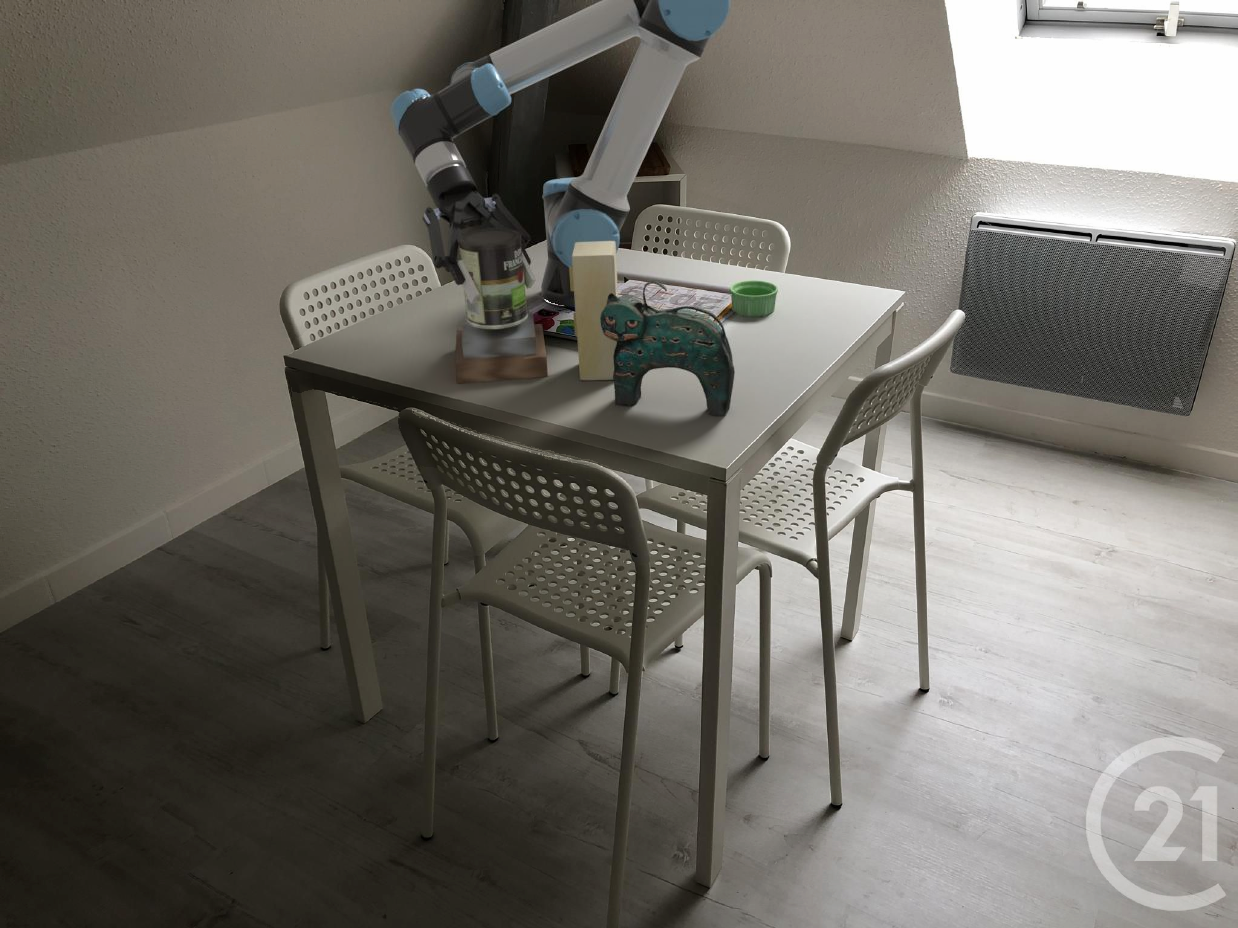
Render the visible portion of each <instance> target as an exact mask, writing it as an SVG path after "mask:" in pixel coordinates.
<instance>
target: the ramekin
mask: <svg viewBox="0 0 1238 928" xmlns="http://www.w3.org/2000/svg"><path fill="white" fill-rule="evenodd" d="M729 292H730V296H731V297H730V299H731V309H732V311H733V312H734V313H735V314H737V315H741V316H743V317H750V318H751V317H752V318H753V317H757V318H758V317H765V316H768V315H770V314H772V313H773V312H774V311H775V307H776V300H777V294H778V292H779V288H778V286H777V285H776V284H774V283H772V282H769V281H764V280H742V281H739V282H734V283H733V284H731V286H730V287H729Z"/></svg>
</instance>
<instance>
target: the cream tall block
mask: <svg viewBox="0 0 1238 928" xmlns="http://www.w3.org/2000/svg"><path fill="white" fill-rule="evenodd" d="M617 269H618V268H617V253H616V243H615V241H595V242H576V243H575V246H574V250H573V254H572V266H571V267H569V273H570V287H571V291H574V296H575V307H574V310H575V312H573V327H574V336H575V337H577V352H578V353H577V354H578V365H579V366H578V367H579V379H580V381H610V380H611V381H612V380H613V373H614V359H613V356H614V351H615V347H616V344H617V341H614V340H612V339H610V338H608V337H607V336H605V335H604V333H603V330H602V327H601V321H600V317H601V313H602V311H603V310H604V308H605V306H606V304H607V299H608V295H609V294H610V293H613V294H614V295H616V296H617V297H619V290H618V270H617Z"/></svg>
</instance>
